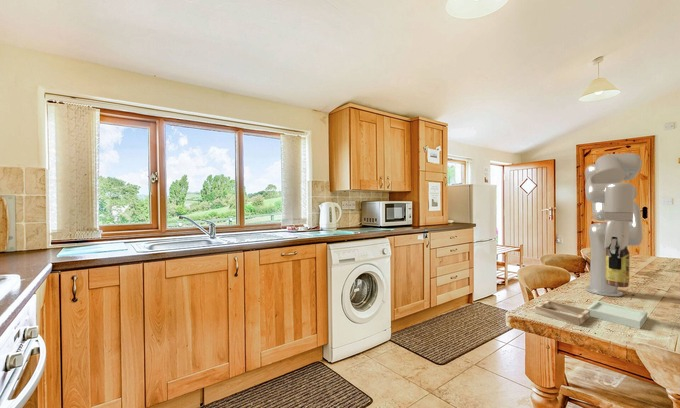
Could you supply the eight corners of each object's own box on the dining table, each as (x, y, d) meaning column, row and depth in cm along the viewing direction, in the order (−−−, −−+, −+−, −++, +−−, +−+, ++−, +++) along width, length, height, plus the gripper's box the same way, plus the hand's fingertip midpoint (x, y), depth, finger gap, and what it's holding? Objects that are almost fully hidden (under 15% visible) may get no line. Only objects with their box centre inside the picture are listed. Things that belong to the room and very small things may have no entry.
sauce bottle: (631, 289, 101) (633, 231, 100) (607, 286, 104) (608, 230, 104) (626, 284, 106) (627, 229, 106) (603, 281, 110) (604, 228, 109)
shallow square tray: (596, 306, 116) (596, 300, 115) (647, 318, 104) (647, 311, 104) (585, 315, 107) (585, 308, 107) (639, 329, 96) (639, 321, 96)
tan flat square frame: (547, 306, 116) (547, 300, 116) (589, 317, 105) (589, 310, 105) (535, 313, 109) (535, 306, 108) (579, 325, 98) (579, 318, 98)
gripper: (610, 216, 113) (609, 262, 113) (598, 217, 103) (596, 268, 103) (637, 217, 107) (636, 266, 107) (627, 218, 97) (626, 273, 97)
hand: (617, 267), depth 105 cm, fingers closed on sauce bottle, 6 cm apart
